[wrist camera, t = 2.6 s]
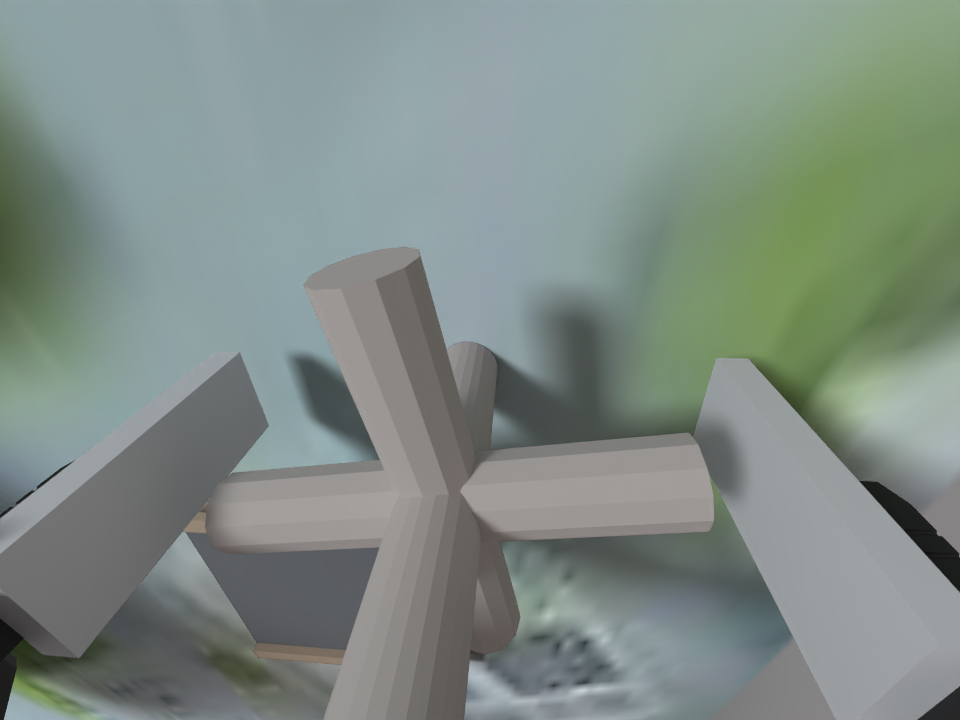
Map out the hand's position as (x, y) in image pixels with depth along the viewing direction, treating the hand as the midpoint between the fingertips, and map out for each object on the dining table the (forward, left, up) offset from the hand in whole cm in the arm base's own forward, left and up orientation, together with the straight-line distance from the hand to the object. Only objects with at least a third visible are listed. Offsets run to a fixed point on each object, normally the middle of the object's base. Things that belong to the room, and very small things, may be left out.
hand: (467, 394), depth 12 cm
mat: (-7, -13, -2) cm, 15 cm away
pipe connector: (0, 0, -2) cm, 2 cm away
